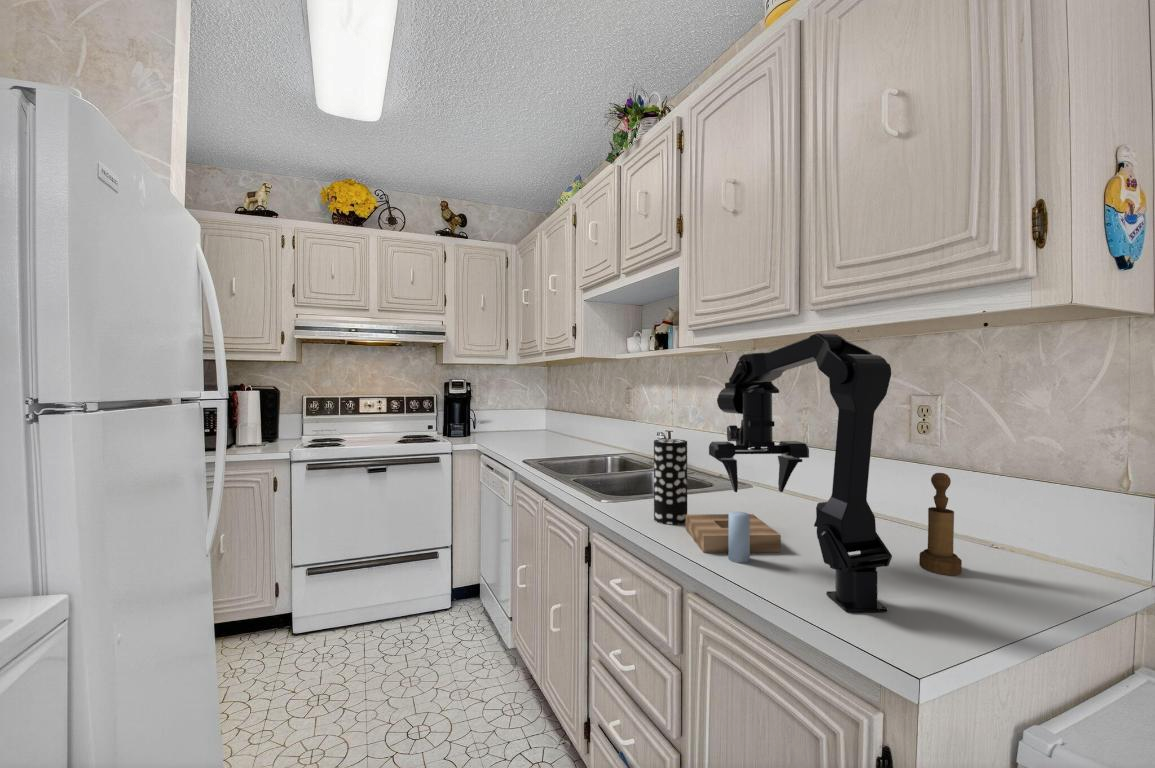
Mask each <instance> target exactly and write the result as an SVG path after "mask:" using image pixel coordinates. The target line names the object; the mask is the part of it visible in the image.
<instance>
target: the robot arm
mask: <svg viewBox="0 0 1155 768" xmlns="http://www.w3.org/2000/svg"><path fill="white" fill-rule="evenodd" d="M815 362H816V365H817V368H818V370H819V371H821V373H822V374H824V376H826V377H827V378H828V381H829V382H828V383H829V393H830V395H831V397H832V399H833V400H834V403H835V404H836V406H837V407H836V408H838V414H837V425H836V426H837V428H836V438H835V440H836V441H835V453H834V454H835V455H834V462H833V463H834V465H833V477H832V490H831V496H830V497H829V499H828V500H827V501H825V502H822V501H821V502H818V503H817V504H816V507H815V510H816V511H815V513H816V514H815V515H816V519H815V522H814V524H813V527H814V528H815V527H816V537H817V539H818V543H819V547H820V552H821V556H822V560H823V562H824V564H826V565H828V566H829V568H831V569H833V570H835V587H834V588H835V590H827V591H826V596H827V597H829V598H830V599H831V600H832V601H833V602H835V603H836V604H837V605H838V606H839V607H841V608H842V609H843V610H844V611H845V612H847V613H850V612H851V613H855V612H856V613H857V612H863V613H865V612H868V613H869V612H887V611H888V607H887V606H885V604H883V603H881V602H880V601H879V600H878V571H877V568H882V567H889V566H890V563H891V562H892V561H891V560H892V558H893V555H892V553H891V551H890V550H889V549H888V547H887V546H886V545H885V543H884V541H883V540H882V538H881V537H880V536H879V534H878V533H877V526H876V525H877V524H876V517H875V514H874V512H873V510H872V509H871V506H870V504H869V502H868V501H867V499H868V498H867V497H868V496H867V495H868V488H869V487H868V486H869V485H868V484H869V474H870V464H871V463H870V462H871V453H872V452H871V451H872V439H873V427H874V418H875V412H876V410H877V409H878V408H879V406H880V404H881V403H882V402H883V400H884V399H885V397H886V396H887V393H888V389H889V386H890V382H891V376H892V367H891V364H890V363H888V362H887V360H886V359H885V358H884V357H883V356H881V355H879V354H873V353H872V352H871V351H869V350H867V349H866V348H863V347H861V346H858V345H856V344H854V343H852V342H850V341H848V340H846V339H845V338H843V336H841V335H838V334H836V333H820V332H819V333H814V334H812V335H810V336H809V337H807V338H804V339H801V340H799V341H796V342H793V343H791V344H788V345H784V346H782V347H780V348H777V349H774V350H772V351H771V350H770V351H769V352H768V351H767V352H755V353H752V352H751V353H744V354H742V355H740V357H739V358H738V361H737V363H736V364H735V366H734V370H733V372H732V373H731V376H730V377H729V379H728V380H729V381H728V382H725V383H724V388H723V389H721V391H720V392H719V393H718V396H717V398H716V402H717V406H718V408H719V409H720V411H722V412H723V413H726V414H737V415H742V419H741V421H740V427H738V426H737V425H736V424H735V425H734V424H733V425H727V426H726V438H727V439H726V440H727V441H711V442H710V443H709V445H708V456H711V457H712V458H715V460H717V461H718V462H720V463H722V464H723V466H724V468H725V471H726V473H727V475H728V478H729V481H730V484H731V486H732V489H733V492H735V493H738V487H739V484H738V479H739V477H738V461H737V459H736V458H734V456H735V455H777V458H778V459H777V460H778V465H779V466H778V469H779V470H778V492H780V493H783V492H784V490H785V488H786V486H787V484H788V482H789V479H790V477H791V476H792V473H793V472H794V470H795V468H796V466H797V465H798V463H803V459H809V458H810V448H809V446H808V445H807V443H805V442H801V441H798V440H780V441H779V443H778V444H776V442H775V441H773V439H774V438H773V427H775V421H774V420H773V394H779V393H780V389H779V388H778V387H777V386H775V384H773V381H775V380H777V379H778V378H781V377H782V375H783V373H784V372H786V371H788V370H791V369H795V368H798V367H802V366H805V365H808V364H811V363H815ZM733 442H735V443H733ZM854 552H860V553H856V554H855V553H854ZM849 553H853V554H849Z"/></svg>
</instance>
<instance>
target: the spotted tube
mask: <svg viewBox="0 0 1155 768" xmlns="http://www.w3.org/2000/svg"><path fill="white" fill-rule="evenodd" d="M686 515H688V440H685V439H679V438H677V439H676V438H675V439H674V438H662V439H661V438H660V439H654V440H653V520H654V521H655V522H656V521H657V523H658V522H659V524H662V523H663V525H669V524H671V525H672V526H673V525H684V524H686ZM671 525H670V526H671Z"/></svg>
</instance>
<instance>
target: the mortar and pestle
mask: <svg viewBox="0 0 1155 768" xmlns="http://www.w3.org/2000/svg"><path fill="white" fill-rule="evenodd" d="M930 481H931V485H932V486H933V487H934V489H935V494H934V496H933V501H934V504H935V506H931V507H928V508H927V513H928V514H927V518H928V519H927V524H928V525H927V527H928V528H927V548H925V549H924V550H923V551H920V553H919V559H918V560H919V567H920V568H922V569H923V570H926V571H928V572H932V573H935V574H939V575H944V576H945V575H946V576H959V575H961V574H962V572H963V571H962V570H963V569H962V568H963V567H962V566H963V563H962V561H963V560H962V559H961V558H960V557H959V556H958V555H957V554H955V553H954V538H955V537H954V536H955V535H954V532H955V530H954V529H955V528H954V526H955V511H954V510H952V509H949V508H947V505H948V503H949V497H947V496H946V492H947V490H948V488H949V487H950V486H951V483H952V482H951V481H952V480H951V478H950V476H949V475H948V474H946V473H944V472H935V473H934V474H932V476H931V478H930Z"/></svg>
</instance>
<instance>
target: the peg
mask: <svg viewBox="0 0 1155 768" xmlns="http://www.w3.org/2000/svg"><path fill="white" fill-rule="evenodd" d="M728 514H729V552H728V560H729V561H731V562H733V563H736V564H737V563H738V564H739V563H740V564H747V563H749V562H750V556H751V555H750V554H751V552H750V515H749V514H750V513H748V512H745V511H744V512H743V511H729V512H728Z"/></svg>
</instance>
